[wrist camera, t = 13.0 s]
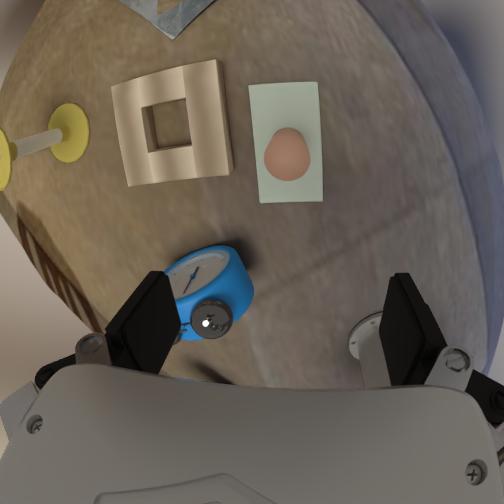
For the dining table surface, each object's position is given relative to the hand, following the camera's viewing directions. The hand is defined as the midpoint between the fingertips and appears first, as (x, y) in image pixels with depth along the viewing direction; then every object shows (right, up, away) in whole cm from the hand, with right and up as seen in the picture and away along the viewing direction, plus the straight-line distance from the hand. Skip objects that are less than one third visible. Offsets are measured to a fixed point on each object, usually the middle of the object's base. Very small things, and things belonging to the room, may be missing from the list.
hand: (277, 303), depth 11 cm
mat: (+3, +15, +21) cm, 26 cm away
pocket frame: (-11, +19, +21) cm, 30 cm away
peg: (+3, +15, +20) cm, 26 cm away
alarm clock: (-7, 0, +31) cm, 32 cm away
